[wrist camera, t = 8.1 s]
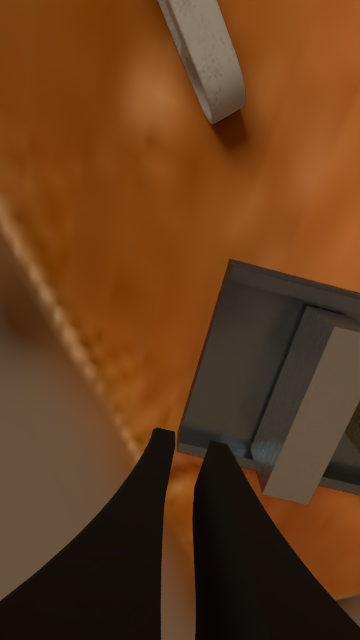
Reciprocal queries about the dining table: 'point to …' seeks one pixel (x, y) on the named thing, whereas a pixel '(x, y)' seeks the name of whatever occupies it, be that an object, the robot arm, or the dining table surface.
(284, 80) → the dining table surface
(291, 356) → the bar
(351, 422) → the brass block
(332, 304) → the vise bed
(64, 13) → the dining table surface
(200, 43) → the wrench
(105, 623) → the robot arm
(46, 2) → the dining table surface
